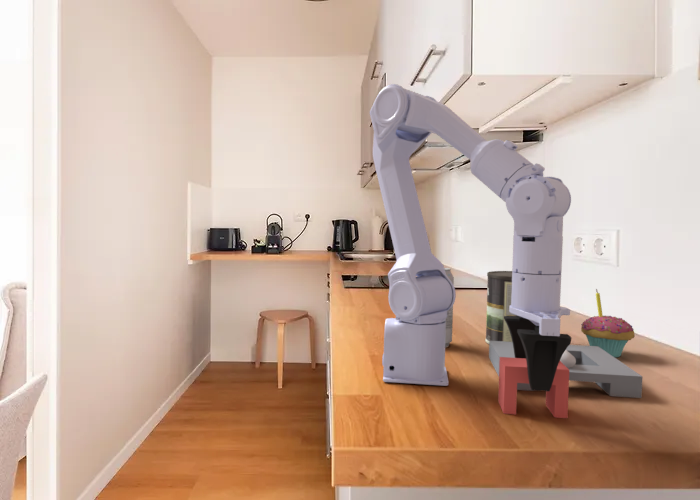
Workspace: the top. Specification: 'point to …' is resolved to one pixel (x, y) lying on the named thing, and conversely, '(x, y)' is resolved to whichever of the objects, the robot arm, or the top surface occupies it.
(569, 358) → the grey frame with dowel
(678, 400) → the top surface
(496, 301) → the coffee can
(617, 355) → the cupcake
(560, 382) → the red arch block
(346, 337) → the top surface
